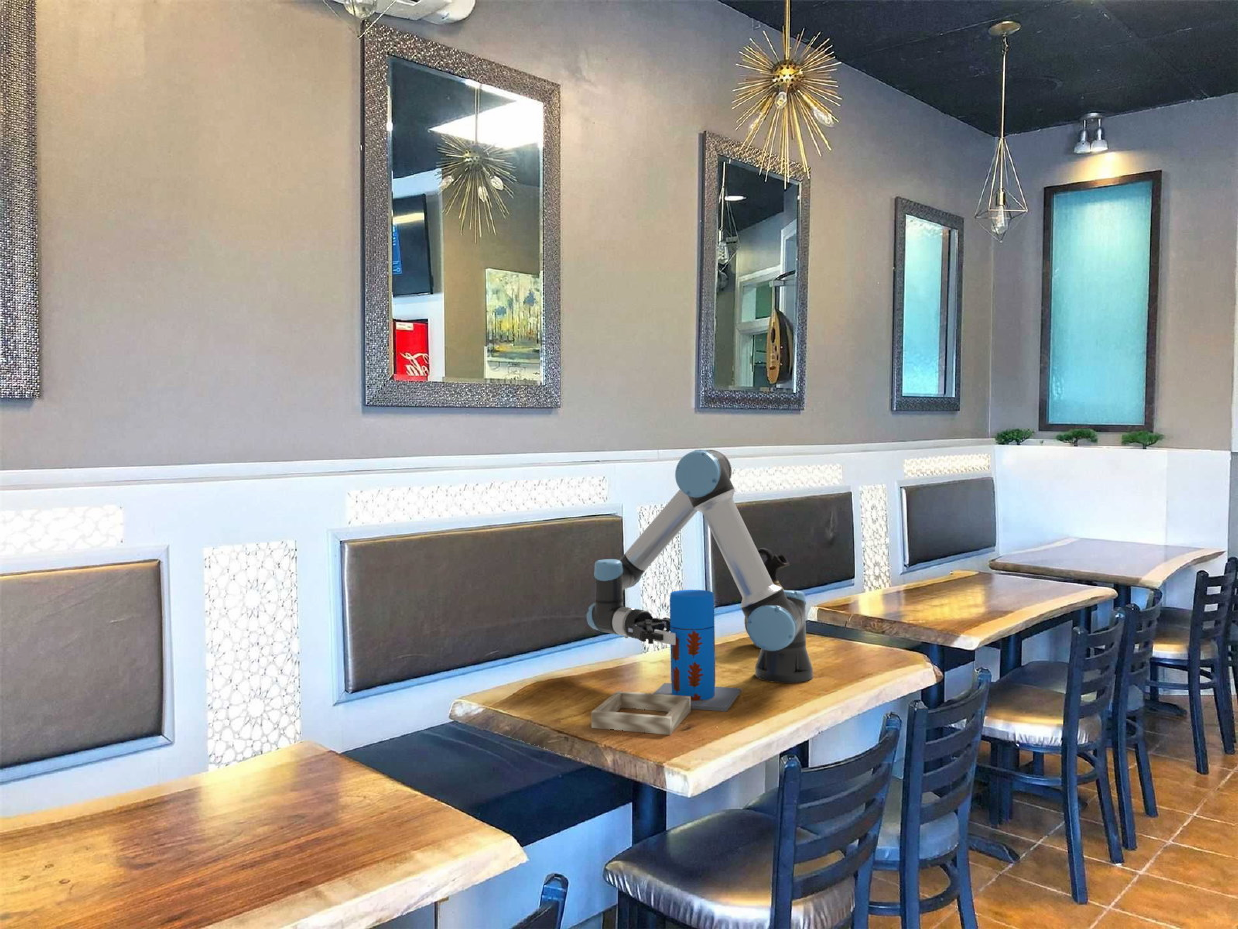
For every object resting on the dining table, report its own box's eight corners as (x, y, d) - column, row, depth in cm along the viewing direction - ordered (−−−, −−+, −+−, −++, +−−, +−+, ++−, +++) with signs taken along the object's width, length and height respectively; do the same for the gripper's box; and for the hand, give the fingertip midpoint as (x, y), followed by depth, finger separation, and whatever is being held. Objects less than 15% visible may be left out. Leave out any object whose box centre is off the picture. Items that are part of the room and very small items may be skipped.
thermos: (717, 700, 219) (715, 596, 219) (672, 701, 219) (670, 597, 219) (713, 688, 230) (711, 589, 230) (670, 689, 230) (669, 589, 230)
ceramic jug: (805, 645, 281) (804, 548, 280) (777, 654, 270) (776, 553, 269) (759, 638, 292) (758, 544, 292) (730, 646, 281) (729, 549, 280)
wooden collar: (690, 711, 214) (690, 696, 214) (670, 734, 197) (670, 718, 197) (617, 705, 219) (617, 691, 219) (591, 727, 202) (591, 712, 202)
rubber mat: (741, 691, 230) (741, 688, 230) (726, 711, 213) (726, 708, 213) (664, 686, 236) (664, 683, 236) (644, 705, 219) (644, 701, 219)
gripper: (667, 630, 248) (727, 642, 232) (598, 645, 231) (657, 658, 216) (667, 602, 248) (727, 612, 232) (597, 615, 231) (657, 627, 215)
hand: (693, 635), depth 224 cm, fingers open, 13 cm apart
